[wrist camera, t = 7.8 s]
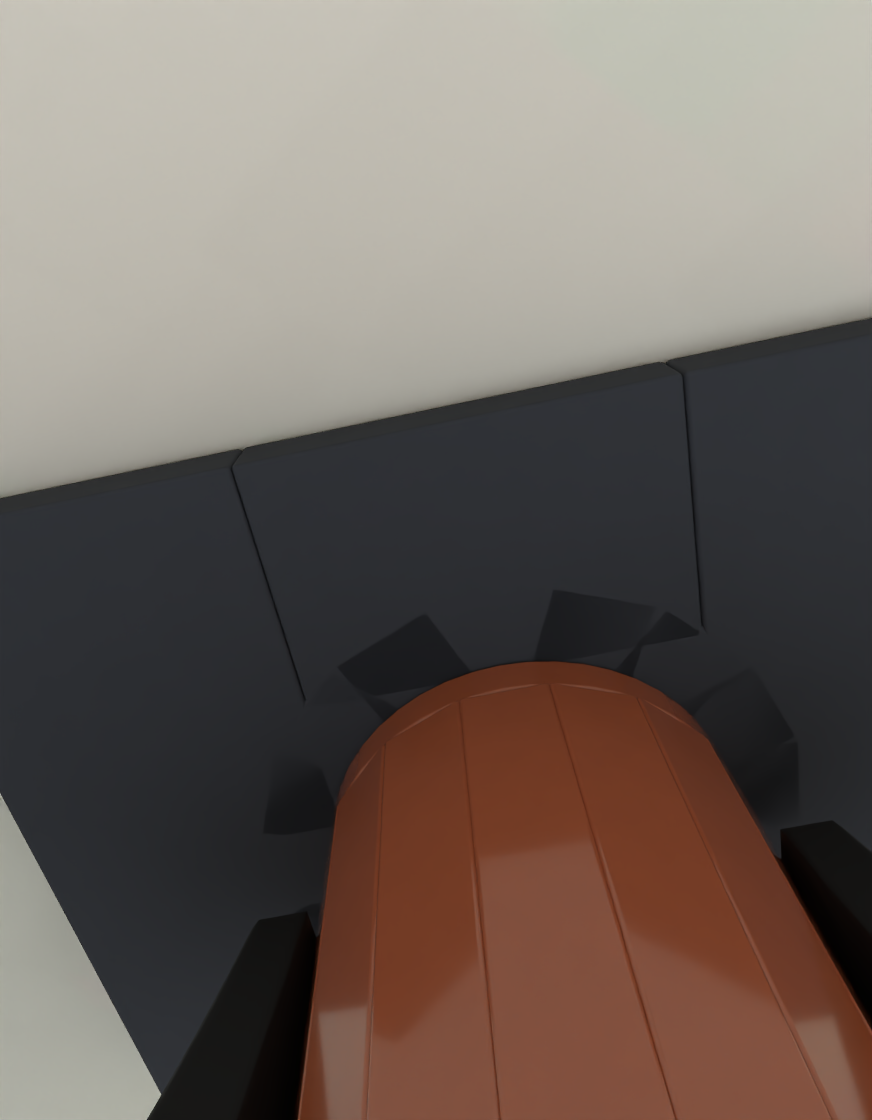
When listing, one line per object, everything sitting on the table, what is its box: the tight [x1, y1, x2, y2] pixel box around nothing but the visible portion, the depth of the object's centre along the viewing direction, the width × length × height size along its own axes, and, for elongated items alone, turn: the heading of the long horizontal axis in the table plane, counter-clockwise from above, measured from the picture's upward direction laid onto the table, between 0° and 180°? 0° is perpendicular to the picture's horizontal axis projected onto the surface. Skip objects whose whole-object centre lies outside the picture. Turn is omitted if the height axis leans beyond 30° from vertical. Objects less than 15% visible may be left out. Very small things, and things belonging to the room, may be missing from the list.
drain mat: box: [0, 318, 872, 1094], centre depth 11 cm, size 16×11×1 cm
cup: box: [292, 661, 872, 1120], centre depth 8 cm, size 6×6×8 cm
